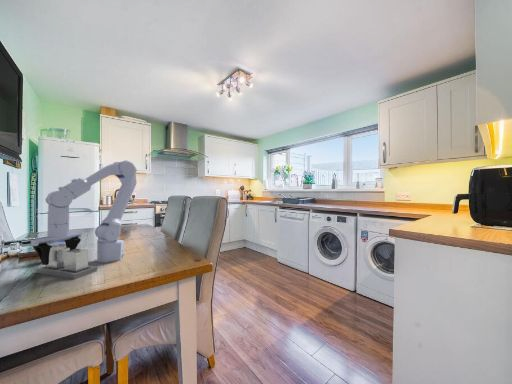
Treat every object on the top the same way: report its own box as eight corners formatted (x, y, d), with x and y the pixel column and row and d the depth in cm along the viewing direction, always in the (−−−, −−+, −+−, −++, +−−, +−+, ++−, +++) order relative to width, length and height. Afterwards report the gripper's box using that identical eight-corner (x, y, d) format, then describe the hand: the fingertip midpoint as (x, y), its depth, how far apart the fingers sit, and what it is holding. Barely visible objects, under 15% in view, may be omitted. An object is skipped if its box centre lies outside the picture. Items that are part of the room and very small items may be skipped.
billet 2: (64, 274, 73) (64, 251, 73) (76, 270, 77) (77, 248, 77) (75, 276, 71) (76, 252, 71) (88, 272, 75) (88, 249, 75)
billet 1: (45, 271, 75) (46, 249, 75) (58, 267, 79) (59, 246, 79) (56, 273, 74) (57, 250, 74) (69, 269, 78) (69, 247, 78)
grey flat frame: (35, 275, 74) (36, 268, 74) (60, 268, 81) (60, 261, 81) (74, 282, 69) (74, 274, 69) (96, 273, 76) (97, 266, 76)
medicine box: (48, 262, 87) (49, 242, 87) (40, 262, 88) (40, 241, 88) (69, 257, 95) (69, 238, 95) (61, 256, 96) (61, 237, 96)
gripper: (72, 220, 84) (72, 254, 84) (24, 226, 70) (24, 266, 70) (85, 221, 83) (85, 256, 83) (39, 227, 69) (38, 268, 69)
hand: (58, 261), depth 76 cm, fingers open, 7 cm apart
